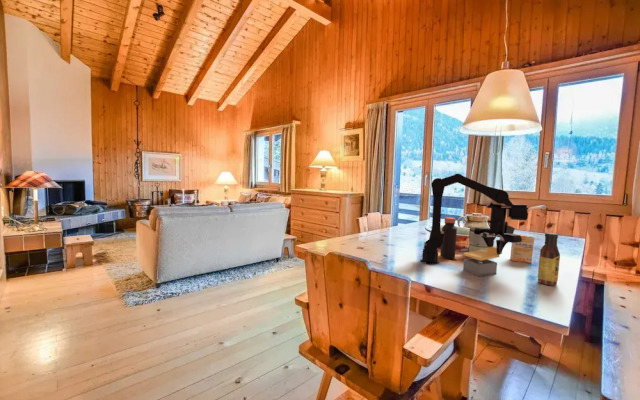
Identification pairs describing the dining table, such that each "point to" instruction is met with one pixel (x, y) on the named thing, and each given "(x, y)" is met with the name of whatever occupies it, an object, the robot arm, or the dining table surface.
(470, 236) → the coffee can
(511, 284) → the dining table surface
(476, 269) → the tub
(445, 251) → the vinegar
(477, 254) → the lid
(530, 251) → the supplement box
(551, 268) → the sauce bottle
